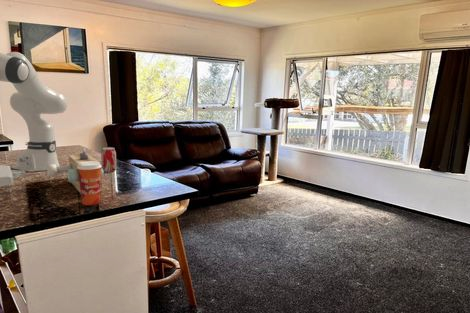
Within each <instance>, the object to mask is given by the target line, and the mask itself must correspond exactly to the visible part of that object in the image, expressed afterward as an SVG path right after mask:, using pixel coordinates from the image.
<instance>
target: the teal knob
mask: <svg viewBox="0 0 470 313" xmlns="http://www.w3.org/2000/svg"><path fill="white" fill-rule="evenodd" d="M101 171H102V177H103V176H104V175H105V174H104V173H105V172H104V171H103V169H102V168H101ZM78 178H79V174H78V171H77V169H71V170H68V172H67V180H68V183H71V182H76V181H78Z"/></svg>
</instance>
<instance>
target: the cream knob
mask: <svg viewBox="0 0 470 313" xmlns="http://www.w3.org/2000/svg"><path fill="white" fill-rule="evenodd" d="M71 169H72V165H69V164H68V165H60V166H58V167H56V164H51V165H47V170H46V171H47V172H46V173H47V177H48V178H49V177H57V175H58V174H63V173H68V170H71Z"/></svg>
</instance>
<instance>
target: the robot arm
mask: <svg viewBox="0 0 470 313" xmlns="http://www.w3.org/2000/svg"><path fill="white" fill-rule="evenodd" d="M0 82H4V83H11V84H12V86H13V87H14V89H15V90H16V91H17V92H13V93H12V95H11V96H10V99H9V104H10V107H11V109H12V110H13V111H14V112H16V113H18V114H19V115H20V116H21V117H22V119H23V120H24V123H26V126H27V129H28V139H29V141H28V142H26V143H25V146H27V147H26V149H25V150H24V151H22V152H21V153H20V154H19V155H17V157H16V164H14V165H12V166H10V165H5V164H4V165H3V164H2V165H1V164H0V187H3V186H4V187H6V186H11V185H14V179H17V178H20V177H26V176H27V172H31V173H32V172H37V171H40V172H43V171H47V165H51V164H56V167H58V166H61V165H60V163H59V160H58V155H57V150H56V148H57V143H56V139H55V126H54V125H53V124H52V123H51V122H50V121H47V120H45V119H44V118H43V116H42V115H47V114H48V115H56V114H62V113H64V112H65V111H67V108H68V100H67V98H66V96H64V94H63V93H60V92H58V91H55V90H53V89H52V88H50V87H49V86H47V85H46V84H45V83H44V82H43V80H42V79H41V78H40V76H39V75H38V73H37V71H36V69H35V67H34V66H33V64H32V63H31V62H30V60H29V59H28V58H27V57H26V56H25V54H22V53H21V52H18V51H10V52H7V53H1V52H0Z"/></svg>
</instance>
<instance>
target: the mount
mask: <svg viewBox="0 0 470 313" xmlns="http://www.w3.org/2000/svg"><path fill="white" fill-rule="evenodd" d="M87 161H96V162H99V163H100V164H101V165H102V162H100V161H99V160H97V159H96V158H94V157H93V156H92V155H90V154H89V153H88V159H87V160H80V154H71V155H68V163H69V164H68V166H69V165H72V169H77V166H78V163H81V162H87ZM101 169H102V167H101V168H100V193H102V192H103V176H102V171H101ZM77 171H78V169H77ZM70 183H71V184H72V185H73V187H74V188H75V189H76V190H77V191H78V192H79V194H81V191H80V183H79V178H78V181H76V182H70Z"/></svg>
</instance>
